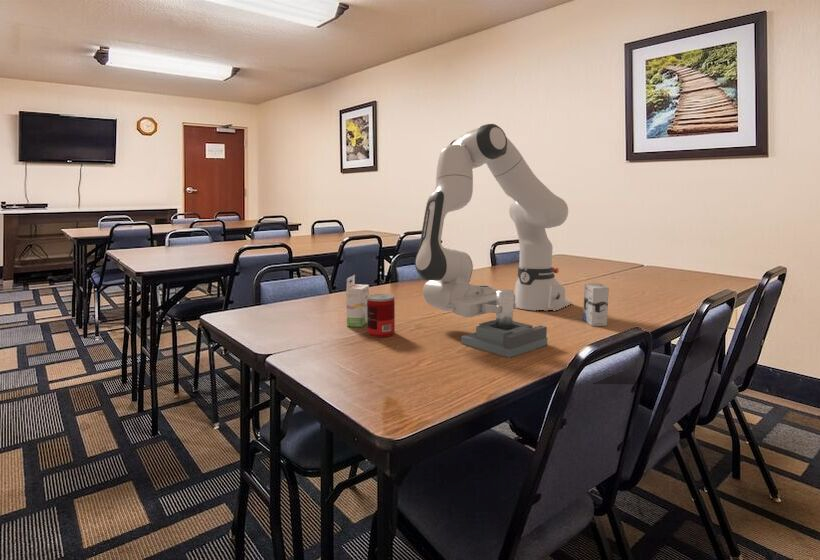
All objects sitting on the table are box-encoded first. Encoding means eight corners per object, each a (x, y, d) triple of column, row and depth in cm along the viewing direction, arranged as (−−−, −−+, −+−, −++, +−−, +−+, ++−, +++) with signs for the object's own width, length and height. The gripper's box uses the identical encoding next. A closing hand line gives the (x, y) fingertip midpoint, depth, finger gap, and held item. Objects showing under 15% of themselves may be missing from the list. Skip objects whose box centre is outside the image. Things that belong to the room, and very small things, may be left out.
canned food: (398, 331, 149) (398, 294, 147) (388, 338, 142) (388, 299, 140) (374, 329, 152) (373, 293, 150) (363, 336, 144) (362, 298, 142)
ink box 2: (582, 319, 162) (584, 283, 160) (597, 319, 162) (600, 283, 160) (590, 326, 154) (592, 287, 152) (607, 326, 154) (609, 287, 152)
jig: (499, 332, 147) (500, 315, 146) (547, 345, 135) (547, 326, 134) (461, 343, 137) (461, 325, 136) (509, 357, 125) (509, 337, 124)
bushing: (502, 332, 139) (503, 288, 137) (515, 335, 135) (517, 291, 133) (492, 335, 136) (493, 290, 134) (505, 338, 133) (506, 293, 130)
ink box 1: (362, 327, 154) (361, 279, 151) (346, 326, 155) (345, 278, 152) (370, 320, 162) (369, 274, 160) (355, 320, 163) (354, 274, 161)
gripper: (442, 294, 137) (481, 302, 126) (492, 284, 150) (531, 291, 140) (441, 317, 138) (480, 326, 127) (491, 305, 151) (530, 314, 141)
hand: (507, 308), depth 134 cm, fingers closed on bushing, 4 cm apart
